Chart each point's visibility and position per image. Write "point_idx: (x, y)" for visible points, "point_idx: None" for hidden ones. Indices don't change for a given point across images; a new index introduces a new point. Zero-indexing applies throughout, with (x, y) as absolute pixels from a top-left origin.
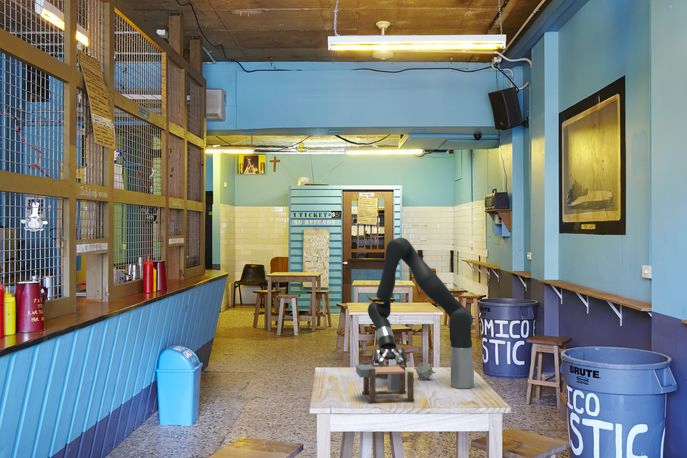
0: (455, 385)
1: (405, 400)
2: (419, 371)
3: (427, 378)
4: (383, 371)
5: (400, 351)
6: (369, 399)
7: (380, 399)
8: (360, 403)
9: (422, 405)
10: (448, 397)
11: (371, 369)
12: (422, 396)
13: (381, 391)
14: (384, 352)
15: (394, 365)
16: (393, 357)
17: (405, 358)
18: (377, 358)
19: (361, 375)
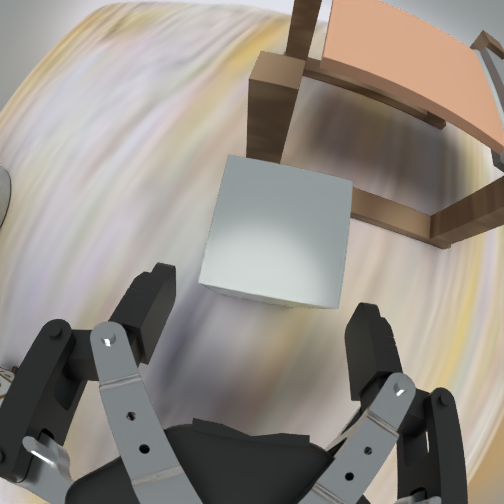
0: (5, 182)
1: (319, 63)
2: None
3: (12, 372)
4: (447, 37)
5: (44, 468)
6: (442, 122)
7: (408, 102)
8: (461, 132)
9: (278, 29)
10: (126, 72)
11: (496, 40)
12: (204, 101)
13: (375, 205)
14: (357, 495)
15: (269, 264)
16: (201, 425)
17: (61, 328)
18: (438, 410)
19: None
